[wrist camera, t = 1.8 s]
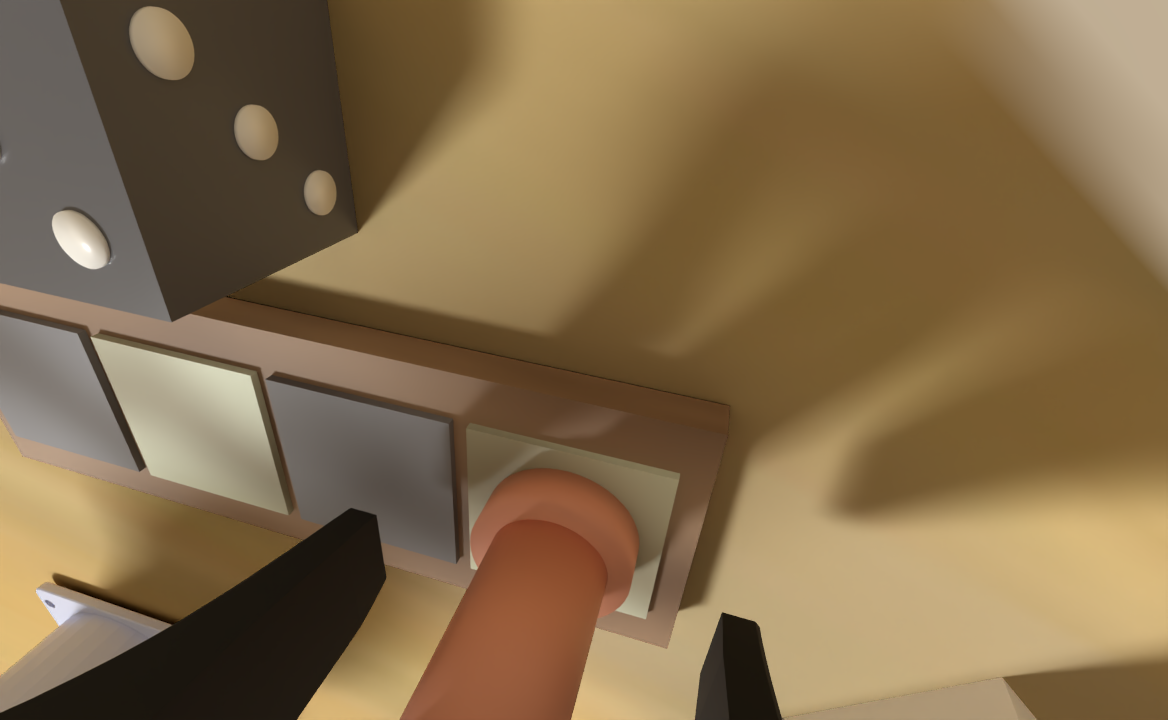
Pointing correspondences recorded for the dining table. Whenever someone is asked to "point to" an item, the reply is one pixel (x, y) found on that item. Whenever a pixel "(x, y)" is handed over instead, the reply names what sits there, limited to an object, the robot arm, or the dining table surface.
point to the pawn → (530, 601)
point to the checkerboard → (937, 705)
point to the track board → (351, 430)
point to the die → (167, 148)
